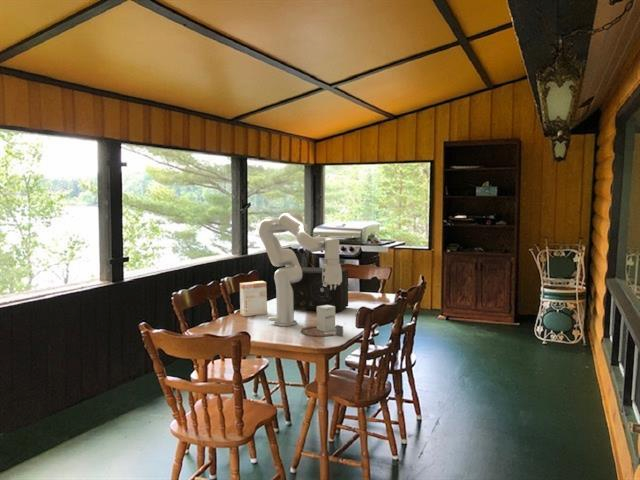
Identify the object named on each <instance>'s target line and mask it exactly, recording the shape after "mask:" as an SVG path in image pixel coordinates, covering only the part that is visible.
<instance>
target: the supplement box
mask: <svg viewBox="0 0 640 480" xmlns="http://www.w3.org/2000/svg"><path fill="white" fill-rule="evenodd" d="M316 325H317V327H316V330H318V331H321V332H324V333H326V332H330V331H336V329H335V326H336V312H335V306H330V305H323V306H317V310H316Z"/></svg>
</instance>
